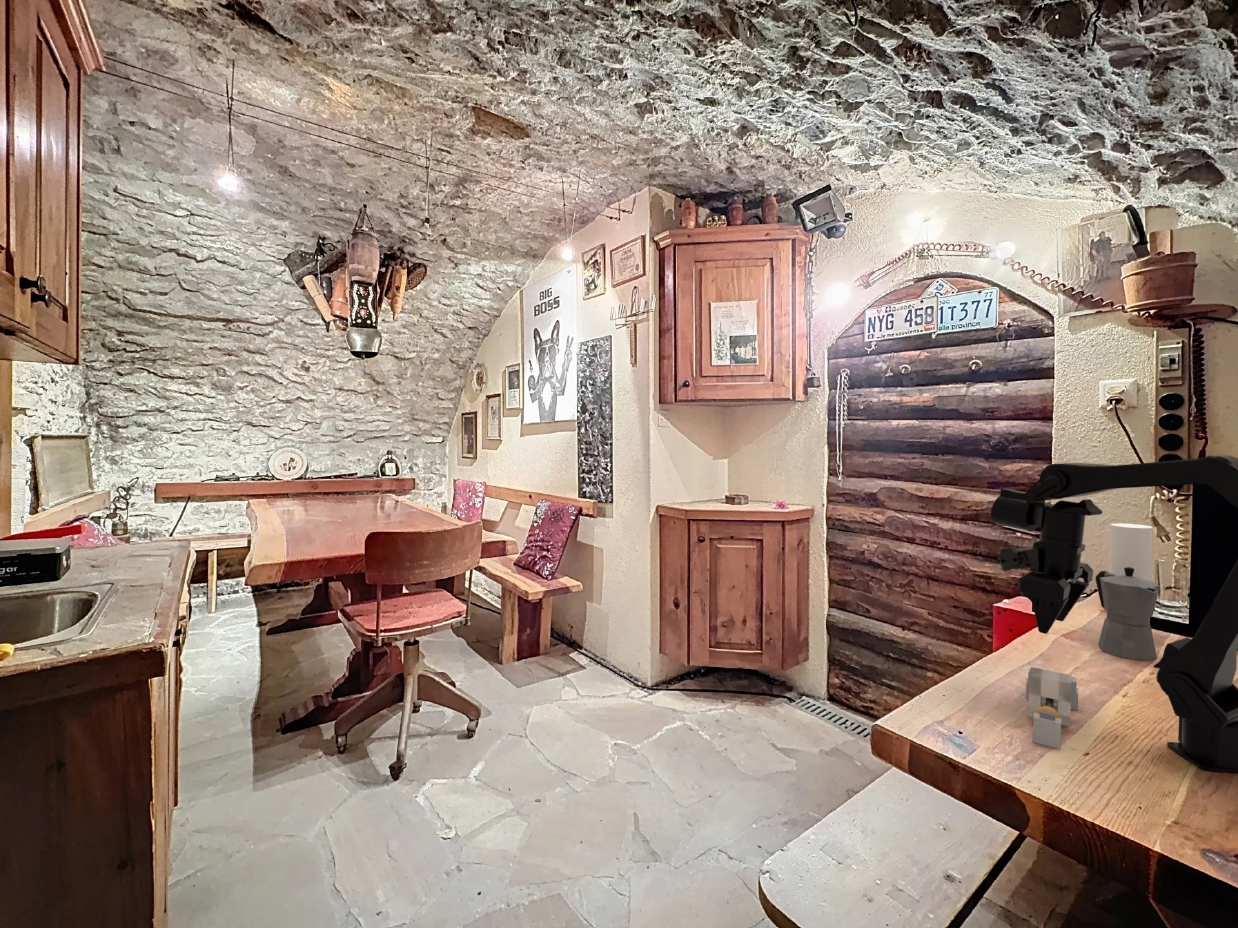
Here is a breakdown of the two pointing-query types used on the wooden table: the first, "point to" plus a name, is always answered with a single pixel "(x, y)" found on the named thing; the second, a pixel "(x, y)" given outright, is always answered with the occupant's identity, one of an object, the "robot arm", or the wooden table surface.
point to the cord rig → (1050, 718)
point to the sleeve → (1050, 692)
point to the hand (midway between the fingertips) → (1051, 626)
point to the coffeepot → (1127, 615)
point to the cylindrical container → (1131, 550)
